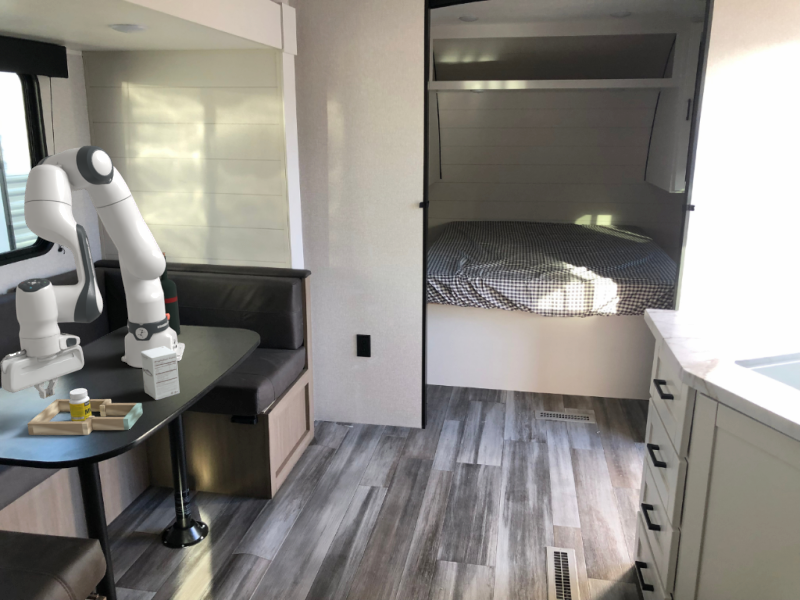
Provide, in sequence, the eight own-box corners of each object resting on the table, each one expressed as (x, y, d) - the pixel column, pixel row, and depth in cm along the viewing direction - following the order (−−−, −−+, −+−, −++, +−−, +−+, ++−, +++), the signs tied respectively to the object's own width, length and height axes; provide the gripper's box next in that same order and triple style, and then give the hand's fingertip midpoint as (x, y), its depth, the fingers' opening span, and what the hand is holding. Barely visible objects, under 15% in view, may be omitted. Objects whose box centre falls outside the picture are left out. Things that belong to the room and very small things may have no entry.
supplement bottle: (89, 424, 163) (85, 394, 160) (69, 426, 162) (65, 395, 159) (94, 416, 167) (90, 386, 165) (74, 418, 166) (70, 388, 164)
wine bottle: (155, 330, 236) (148, 250, 228) (183, 330, 237) (176, 250, 229) (148, 337, 229) (140, 255, 221) (177, 337, 229) (169, 255, 221)
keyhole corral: (57, 409, 171) (56, 399, 170) (146, 409, 172) (144, 399, 171) (29, 434, 157) (27, 423, 156) (125, 434, 158) (124, 423, 157)
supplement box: (144, 392, 182) (139, 351, 179) (168, 385, 187) (165, 345, 184) (155, 400, 177) (151, 358, 174) (180, 393, 182) (177, 351, 179)
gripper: (8, 359, 148) (15, 414, 152) (85, 336, 166) (90, 385, 169) (-9, 354, 151) (-1, 408, 154) (68, 332, 168) (74, 381, 172)
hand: (47, 396), depth 162 cm, fingers closed
